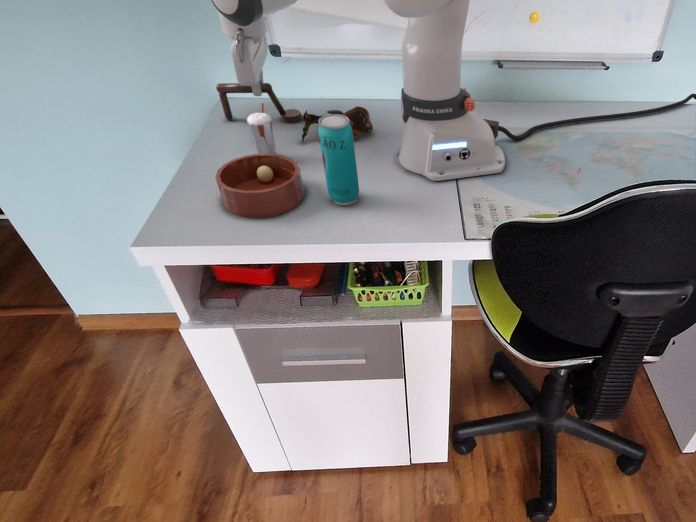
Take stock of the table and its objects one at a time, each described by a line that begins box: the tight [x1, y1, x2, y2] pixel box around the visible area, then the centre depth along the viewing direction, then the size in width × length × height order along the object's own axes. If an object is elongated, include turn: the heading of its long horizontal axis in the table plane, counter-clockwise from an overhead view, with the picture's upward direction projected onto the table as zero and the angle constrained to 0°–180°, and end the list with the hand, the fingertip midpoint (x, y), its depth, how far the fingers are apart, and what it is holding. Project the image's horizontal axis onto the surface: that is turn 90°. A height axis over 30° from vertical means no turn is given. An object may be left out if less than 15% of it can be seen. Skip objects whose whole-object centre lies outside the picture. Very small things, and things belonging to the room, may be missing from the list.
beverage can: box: [317, 114, 360, 207], centre depth 96 cm, size 6×6×15 cm
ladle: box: [215, 82, 303, 124], centre depth 122 cm, size 17×4×8 cm, turn 98°
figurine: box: [301, 106, 374, 143], centre depth 119 cm, size 8×16×6 cm, turn 98°
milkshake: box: [246, 102, 277, 154], centre depth 109 cm, size 4×5×10 cm
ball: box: [257, 166, 273, 182], centre depth 103 cm, size 3×3×3 cm
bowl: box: [214, 153, 305, 219], centre depth 100 cm, size 15×15×5 cm
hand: (259, 92), depth 121 cm, fingers closed on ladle, 2 cm apart
